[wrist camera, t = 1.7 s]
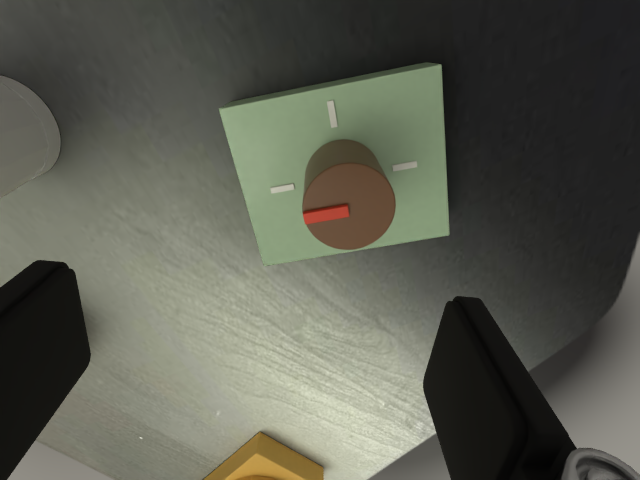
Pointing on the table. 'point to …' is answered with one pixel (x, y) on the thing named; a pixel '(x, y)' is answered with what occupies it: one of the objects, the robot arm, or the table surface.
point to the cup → (24, 136)
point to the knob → (347, 196)
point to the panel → (335, 124)
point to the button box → (266, 463)
